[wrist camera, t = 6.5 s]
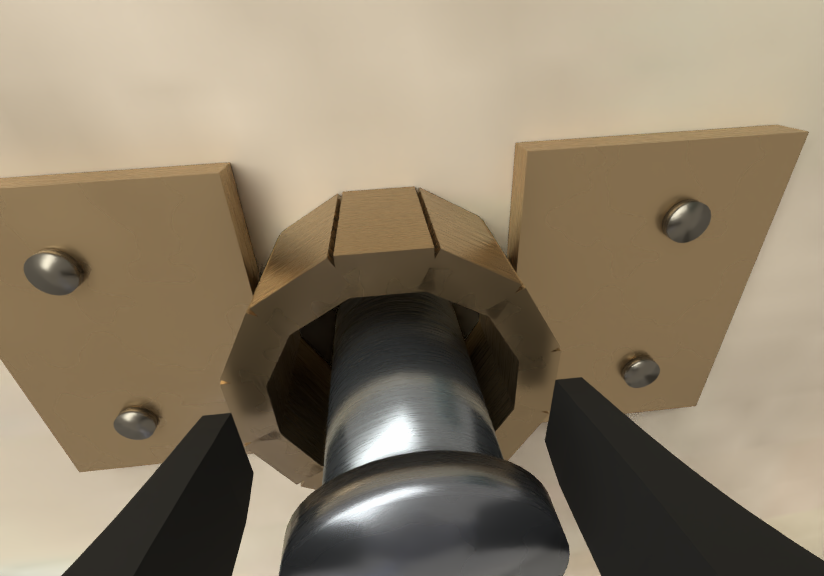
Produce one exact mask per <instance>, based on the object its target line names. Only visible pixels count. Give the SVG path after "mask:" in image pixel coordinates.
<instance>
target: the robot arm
mask: <svg viewBox="0 0 824 576" xmlns="http://www.w3.org/2000/svg"><path fill="white" fill-rule="evenodd" d="M545 443H546V446H547V449H548V452H549V455H550V458H551V461H552V465H553V467H554V470H555V473H556V476H557V479H558V482H559V485H560V487H561V489H562V492H563V494H564V496H565V498H566V500H567V503H568V505H569V507H570V509H571V511H572V514H573V516H574V518H575V520H576V522H577V524H578V527H579V529H580V531H581V533H582V535H583V537H584V539H585V542H586V544H587V546H588V548H589V550H590V552H591V554H592V557H593V559H594V561H595V563H596V565H597V567H598V569H599V572H600V574H601V576H824V561H823V560H822V559H820V558H819V557H817V556H815V555H814V554H812V553H811V552H809V551H808V550H806V549H804V548H803V547H801V546H800V545H798V544H797V543H795V542H794V541H792V540H791V539H789V538H788V537H786V536H785V535H783V534H782V533H780V532H779V531H777V530H776V529H774V528H773V527H771V526H770V525H768V524H767V523H765V522H764V521H762V520H761V519H759V518H758V517H756V516H755V515H753V514H752V513H751V512H749V511H748V510H746V509H745V508H743V507H742V506H741V505H739V504H738V503H736V502H735V501H734V500H732V499H731V498H729V497H728V496H727V495H725V494H724V493H723V492H721V491H720V490H719V489H717V488H716V487H715V486H713V485H712V484H711V483H709V482H708V481H707V480H705V479H704V478H703V477H701V476H700V475H699V474H697V473H696V472H695V471H693V470H692V469H691V468H689V467H688V466H687V465H686V464H684V463H683V462H682V461H681V460H679V459H678V458H677V457H675V456H674V455H673V454H672V453H670V452H669V451H668V450H667V449H666V448H664V447H663V446H662V445H661V444H659V443H658V442H657V441H656V440H655V439H653V438H652V437H651V436H650V435H648V434H647V433H646V432H645V431H644V430H643V429H641V428H640V427H639V426H638V425H637V424H635V423H634V422H633V421H632V420H631V419H630V418H628V417H627V416H626V415H625V414H624V413H623V412H621V411H620V410H619V409H618V408H617V407H616V406H615V405H613V404H612V403H611V402H610V401H609V400H608V399H607V398H605V397H604V396H603V395H602V394H601V393H600V392H598V391H597V390H596V389H595V388H594V387H593V386H592V385H590V384H589V383H588V382H587V381H586V380H585V379H583V378H582V377H577V378H567V379H558V380H555V385H554V391H553V397H552V403H551V409H550V414H549V420H548V426H547V432H546V438H545ZM252 480H253V470H252V468H251V465H250V462H249V460H248V457H247V454H246V451H245V449H244V446H243V443H242V441H241V438H240V435H239V433H238V430H237V427H236V424H235V422H234V419H233V416H232V414H231V413H224V414H214V415H204V416H202V417H201V418H200V419H199V420H198V421H197V423H196V424H195V425H194V426H193V427H192V428H191V430H190V431H189V432H188V433H187V434H186V435H185V437H184V438H183V439H182V440H181V441H180V443H179V444H178V445H177V446H176V447H175V449H174V450H173V451H172V452H171V453H170V455H169V456H168V457H167V458H166V459H165V461H164V462H163V463H162V464H161V465H160V467H159V468H158V469H157V470H156V471H155V473H154V474H153V475H152V476H151V477H150V478H149V480H148V481H147V482H146V483H145V484H144V485H143V487H142V488H141V489H140V490H139V491H138V492H137V493H136V495H135V496H134V497H133V498H132V499H131V500H130V502H129V503H128V504H127V505H126V506H125V507H124V508H123V510H122V511H121V512H120V513H119V514H118V515H117V516H116V518H115V519H114V520H113V521H112V522H111V523H110V524H109V525H108V526H107V527H106V529H105V530H104V531H103V532H102V533H101V534H100V535H99V536H98V537H97V538H96V539H95V540H94V542H93V543H92V544H91V545H90V546H89V547H88V548H87V549H86V550H85V551H84V552H83V553H82V554H81V556H80V557H79V558H78V559H77V560H76V561H75V562H74V563H73V564H72V565H71V566H70V567H69V568H68V569H67V570H66V571H65V572H64V574H63V575H62V576H232V573H233V569H234V565H235V562H236V558H237V554H238V550H239V547H240V543H241V539H242V535H243V532H244V528H245V524H246V519H247V513H248V507H249V501H250V494H251V487H252Z"/></svg>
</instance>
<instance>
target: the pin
mask: <svg viewBox="0 0 824 576" xmlns="http://www.w3.org/2000/svg"><path fill="white" fill-rule="evenodd" d="M569 555H570V553H569V544H568V542H567V539H566V537H565V534H564V532H563V529H562V527H561V524H560V522H559V519H558V517H557V514H556V512H555V509H554V507H553V504H552V502H551V499H550V497H549V494H548V492H547V491H546V489H545V488H544V486H543V485H542V483H541V482H540V481H539V480H538V479H537V478H536V477H535V476H534V475H532V474H531V473H529V472H528V471H526V470H525V469H523V468H522V467H520V466H518V465H516V464H514V463H511V462H509V461H507V460H504V458H503V455H502V452H501V449H500V446H499V443H498V440H497V437H496V434H495V431H494V428H493V425H492V422H491V419H490V416H489V413H488V410H487V407H486V404H485V401H484V398H483V395H482V392H481V389H480V386H479V383H478V380H477V377H476V374H475V371H474V368H473V365H472V362H471V359H470V356H469V353H468V350H467V347H466V344H465V341H464V338H463V335H462V333H461V330H460V327H459V324H458V321H457V318H456V315H455V312H454V309H453V306H452V304H451V301H449V300H446V299H444V298H441V297H439V296H436V295H434V294H431V293H429V292H426V291H424V292H413V293H401V294H390V295H379V296H367V297H356V298H349V299H347V300H346V301H344V302H342V303H341V305H340V307H339V310H338V312H337V316H336V322H335V334H334V347H333V359H332V371H331V383H330V395H329V407H328V420H327V432H326V444H325V456H324V468H323V481H322V486H321V487H319V488H318V489H317V490H315V491H314V492H313V493H311V494H310V495H309V496H308V497H307V498H306V499H305V500H304V501H303V502H302V503H301V504H300V505H299V507H298V508H297V509H296V511H295V512H294V514H293V515H292V517H291V519H290V521H289V523H288V525H287V529H286V533H285V537H284V544H283V551H282V558H281V565H280V571H279V576H563V575H564V573H565V570H566V568H567V565H568V561H569Z"/></svg>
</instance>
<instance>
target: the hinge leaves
mask: <svg viewBox="0 0 824 576" xmlns="http://www.w3.org/2000/svg"><path fill="white" fill-rule="evenodd" d="M808 133H809V132H808V131H803V130H799V129H794V128H789V127H785V126H780V125H768V126H753V127H739V128H724V129H710V130H695V131H681V132H666V133H652V134H637V135H623V136H608V137H593V138H579V139H564V140H550V141H535V142H521V143H516V145H515V158H514V171H513V184H512V197H511V210H510V223H509V236H508V249H507V258H506V256H505V254H504V253H503V251H502V250H501V248H500V246H499V245H498V243H497V242H496V240H495V239H494V237H493V235H492V234H491V232H490V231H489V229H488V228H487V226H486V224H485V223H484V221H483V220H481V219H480V217H479V216H477V215H475V214H473V213H471V212H469V211H467V210H465V209H463V208H461V207H459V206H457V205H455V204H452V203H450V202H448V201H446V200H444V199H442V198H440V197H438V196H436V195H434V194H432V193H430V192H428V191H426V190H424V189H421V188H419V189H418V191H417V193H416V190H415V187H402V188H388V189H375V190H361V191H347V192H343V193H342V198H341V197H340V196H339V194H336V195H335V196H334V197H332V198H331V199H329V200H328V201H326V202H325V203H323V204H322V205H320V206H319V207H317V208H316V209H315V210H313V211H312V212H310V213H309V214H307V215H306V216H304V217H303V218H301V219H300V220H298V221H297V222H296V223H294V224H293V225H291V226H290V227H288V228H287V229H285V230H284V231H282V233H281V235H279V237H278V239H277V241H276V244H275V246H274V248H273V251H272V253H271V255H270V258H269V260H268V262H267V265H266V267H265V269H264V272H263V274H262V276H261V279H260V275H259V272H258V268H257V264H256V260H255V256H254V253H253V249H252V245H251V241H250V237H249V233H248V230H247V226H246V222H245V218H244V214H243V211H242V207H241V203H240V199H239V195H238V191H237V188H236V184H235V180H234V176H233V172H232V169H231V165H230V163H215V164H201V165H186V166H172V167H157V168H143V169H128V170H114V171H99V172H85V173H70V174H55V175H41V176H26V177H12V178H0V359H1V360H2V362H3V363H4V365H5V366H6V368H7V369H8V370H9V372H10V373H11V375H12V376H13V378H14V379H15V380H16V382H17V383H18V385H19V386H20V388H21V389H22V391H23V392H24V393H25V395H26V396H27V398H28V399H29V401H30V402H31V403H32V405H33V406H34V408H35V409H36V411H37V412H38V413H39V415H40V416H41V418H42V419H43V421H44V422H45V423H46V425H47V426H48V428H49V429H50V431H51V432H52V433H53V435H54V436H55V438H56V439H57V441H58V442H59V443H60V445H61V446H62V448H63V449H64V451H65V452H66V454H67V455H68V456H69V458H70V459H71V461H72V462H73V464H74V465H75V466H76V468H77V469H78V471H79V472H86V471H95V470H104V469H114V468H123V467H132V466H142V465H151V464H160V463H163V462H164V461H165V459H166V458H167V457H168V456H169V455H170V453H171V452H172V451H173V450H174V449H175V447H176V446H177V445H178V444H179V443H180V441H181V440H182V439H183V438H184V437H185V435H186V434H187V433H188V432H189V431H190V430H191V428H192V427H193V426H194V425H195V424H196V423H197V421H198V420H199V419H200V418H201V417H202V416H204V415H214V414H224V413H231V414H232V416H233V419H234V422H235V424H236V427H237V430H238V433H239V435H240V438H241V441H242V443H243V446H244V449H245V451H246V454H253V453H254V454H255V455H257V456H258V457H259V458H261V459H262V460H263V461H265V462H266V463H268V464H269V465H270V466H272V467H273V468H275V469H276V470H277V471H279V472H280V473H281V474H283V475H284V476H286V477H287V478H288V479H290V480H291V481H292V482H294V483H295V484H299V483H301V486H302V487H306V488H311V489H315V490H317V489H318V488H319V487H321V486H322V481H323V468H324V456H325V444H326V432H327V420H328V407H329V395H330V383H331V371H332V367H331V366H330V365H329V364H328V363H327V362H326V361H325V360H323V359H322V358H321V357H320V356H319V355H318V354H317V353H316V352H315V351H314V350H313V349H312V348H311V347H310V346H309V345H308V344H307V343H306V342H305V341H304V340H303V339H302V338H301V336H300V332H299V329H300V328H302V327H303V326H305V325H307V324H308V323H310V322H312V321H313V320H315V319H316V318H318V317H320V316H321V315H323V314H325V313H326V312H328V311H329V310H331V309H333V308H334V307H336V306H337V305H339V304H341V303H342V302H344V301H346V300H347V299H349V298H356V297H367V296H379V295H390V294H401V293H413V292H424V291H426V292H429V293H431V294H434V295H436V296H439V297H441V298H444V299H446V300H449V301H451V302H454V303H456V304H459V305H461V306H464V307H466V308H469V309H471V310H474V311H476V312H479V322H478V323H477V324H476V326H475V327H474V329H473V330H472V332H471V333H470V334H469V336H468V337H467V339H466V340H465V344H466V347H467V350H468V353H469V356H470V359H471V362H472V365H473V368H474V371H475V374H476V377H477V380H478V383H479V386H480V389H481V392H482V395H483V398H484V401H485V404H486V407H487V410H488V413H489V416H490V419H491V422H492V425H493V428H494V431H495V434H496V437H497V440H498V443H499V446H500V449H501V452H502V455H503V458H504V460H507V461H508V460H509V459H510V457H511V456H512V455H513V454H514V453H515V452H516V451H517V450H518V448H519V447H520V446H521V445H522V444H523V443H524V442H525V441H526V439H527V438H528V437H529V436H530V435H531V434H532V433H533V432H534V430H535V429H536V428H537V427H538V426H539V425H540V424H541V423H542V422H548V420H549V414H550V409H551V403H552V397H553V391H554V385H555V380H558V379H567V378H577V377H582V378H583V379H585V380H586V381H587V382H588V383H589V384H590V385H592V386H593V387H594V388H595V389H596V390H597V391H598V392H600V393H601V394H602V395H603V396H604V397H605V398H607V399H608V400H609V401H610V402H611V403H612V404H613V405H615V406H616V407H617V408H618V409H619V410H620V411H621V412H623V413H624V414H626V413H635V412H644V411H654V410H663V409H672V408H681V407H691V406H696V404H697V402H698V400H699V397H700V395H701V392H702V390H703V387H704V385H705V383H706V380H707V378H708V375H709V373H710V370H711V368H712V366H713V363H714V361H715V358H716V356H717V353H718V351H719V349H720V346H721V344H722V341H723V339H724V336H725V334H726V332H727V329H728V327H729V324H730V322H731V320H732V317H733V315H734V312H735V310H736V307H737V305H738V303H739V300H740V298H741V295H742V293H743V290H744V288H745V286H746V283H747V281H748V278H749V276H750V273H751V271H752V269H753V266H754V264H755V261H756V259H757V256H758V254H759V252H760V249H761V247H762V244H763V242H764V240H765V237H766V235H767V232H768V230H769V227H770V225H771V223H772V220H773V218H774V215H775V213H776V210H777V208H778V206H779V203H780V201H781V198H782V196H783V193H784V191H785V189H786V186H787V184H788V181H789V179H790V176H791V174H792V172H793V169H794V167H795V164H796V162H797V160H798V157H799V155H800V152H801V150H802V147H803V145H804V143H805V140H806V138H807V135H808Z"/></svg>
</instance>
